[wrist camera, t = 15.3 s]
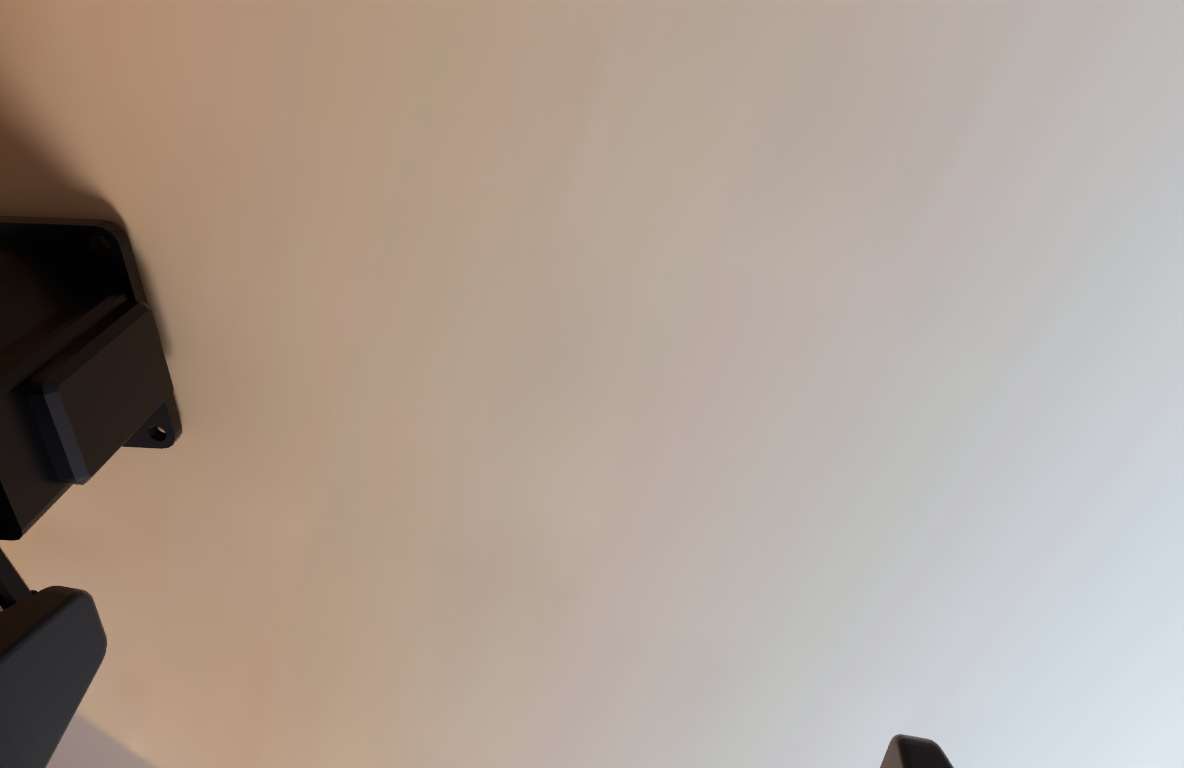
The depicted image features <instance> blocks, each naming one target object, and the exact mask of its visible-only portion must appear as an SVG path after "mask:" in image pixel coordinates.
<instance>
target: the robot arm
mask: <svg viewBox="0 0 1184 768" xmlns="http://www.w3.org/2000/svg"><path fill="white" fill-rule="evenodd" d="M99 236H102V237H104V238H105V239H106V240H107V241H108V242H109V244H110V246H111V249H110V248H107V247H105V246H104V245H103V244H102V243H101V241H100V239H99ZM172 392H173V385H172V381H171V378H170V374H169V371H168V367H167V364H166V360H165V357H164V353H163V350H162V346H161V343H160V339H159V335H158V332H157V328H156V325H155V321H154V318H153V314H152V311H151V310H150V308H149V307H148V305H147V302H146V298H145V295H144V291H143V288H142V284H141V281H140V277H139V274H138V270H137V267H136V263H135V260H134V256H133V253H132V249H131V246H130V242H129V239H128V237H127V235H126V233H125V232H124V231H123V230H122V228H121V227H120V226H118V225H117V224H115V223H113V222H111V221H106V220H93V219H64V218H36V217H8V216H0V540H12V541H13V540H19V539H20V538H21V537H22V536H23V535H24V534H25V533H26V532H27V531H28V530H29V529H30V528H31V527H32V526H33V525H34V524H35V523H36V522H37V521H38V520H39V519H40V518H41V517H42V516H43V515H44V514H45V513H46V512H47V510H48V509H49V508H50V507H51V506H52V505H53V504H54V503H55V502H56V501H57V500H58V499H59V498H60V497H61V496H62V495H63V494H64V493H65V492H66V491H67V490H68V489H69V488H70V487H71V486H72V485H73V484H77V485H83V484H85V483H87V482H88V481H89V480H90V479H91V478H92V477H93V476H94V475H95V473H96V472H97V471H98V470H99V469H100V468H101V467H102V466H103V465H104V464H105V463H106V462H107V461H108V460H109V459H110V458H111V457H112V456H113V455H114V454H115V453H116V452H117V450H118V449H119V448H120V447H121V446H123V447H142V448H161V449H162V448H169V447H170V446H172V445H173V444H174V443H175V442H176V441H177V439H178V438H179V437H180V435H181V434H182V425H181V422H180V418H179V415H178V411H177V408H176V404H175V400H174V397H173V393H172ZM156 426H158V427H160V428H162V429H163V430H164V431H165V433H164V432H161V431H160V430H159V429H158V428H157V427H156ZM106 647H107V638H106V634H105V631H104V628H103V626H102V623H101V620H100V617H99V614H98V611H97V608H96V606H95V603H94V600H93V598H92V596H91V595H90V594H89V593H88V592H87V591H84V590H80V589H75V588H69V587H63V586H51V587H48V588H45V589H43V590H41V591H39V592H37V591H35V590H30V589H29V587H28V586H27V585H26V583H25V582H24V580H23V579H22V577H21V576H20V575H19V573H18V572H17V570H16V569H15V567H14V566H13V564H12V563H11V562H10V560H9V559H8V557H7V556H6V554H5V553H4V552H3V550H2V549H1V547H0V768H46V766H47V764H48V763H49V761H50V759H51V757H52V755H53V753H54V751H55V749H56V748H57V745H58V744H59V741H60V740H61V738H62V736H63V734H64V732H65V730H66V729H67V727H68V725H69V723H70V721H71V719H72V717H73V716H74V714H75V712H76V710H77V708H78V706H79V704H80V702H81V701H82V699H83V697H84V695H85V693H86V691H87V689H88V687H89V686H90V684H91V682H92V680H93V678H94V676H95V674H96V672H97V671H98V669H99V667H100V665H101V663H102V661H103V659H104V656H105V653H106ZM880 768H954V767H953V766H952V764H951V763H950V761H949V760H948V758H947V757H946V755H945V754H944V752H943V750H942V749H941V748H940V746H939V745H938V744H936V743H935V742H934V741H932V740H929V739H925V738H919V737H914V736H908V735H902V734H898V735H896V736H894V737H893V738H892V740H891V741H890V744H889V746H888V749H887V751H886V754H885V756H884V759H883V761H882V764H881V767H880Z"/></svg>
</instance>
